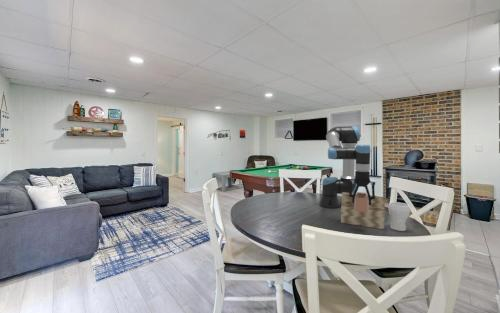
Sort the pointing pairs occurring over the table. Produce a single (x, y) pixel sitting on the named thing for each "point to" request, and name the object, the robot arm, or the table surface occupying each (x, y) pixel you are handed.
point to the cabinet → (361, 202)
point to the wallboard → (363, 218)
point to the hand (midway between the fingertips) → (361, 209)
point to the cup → (398, 215)
